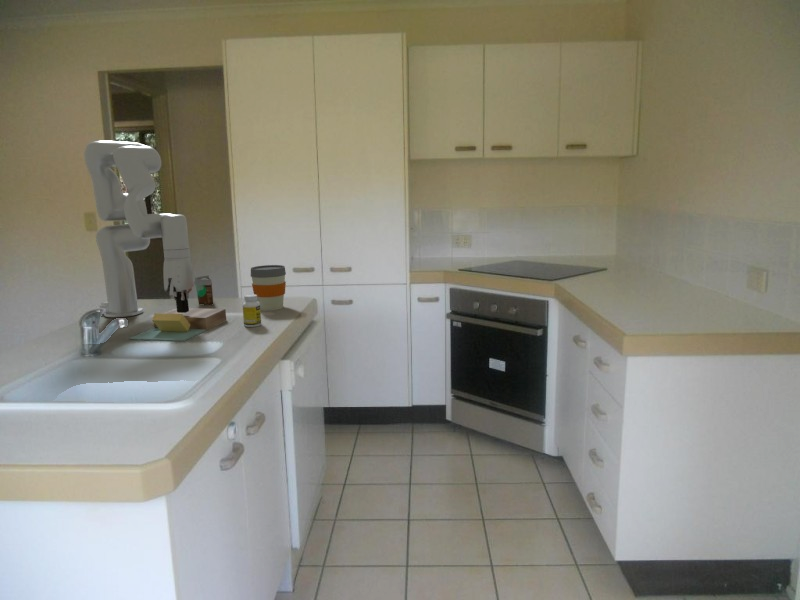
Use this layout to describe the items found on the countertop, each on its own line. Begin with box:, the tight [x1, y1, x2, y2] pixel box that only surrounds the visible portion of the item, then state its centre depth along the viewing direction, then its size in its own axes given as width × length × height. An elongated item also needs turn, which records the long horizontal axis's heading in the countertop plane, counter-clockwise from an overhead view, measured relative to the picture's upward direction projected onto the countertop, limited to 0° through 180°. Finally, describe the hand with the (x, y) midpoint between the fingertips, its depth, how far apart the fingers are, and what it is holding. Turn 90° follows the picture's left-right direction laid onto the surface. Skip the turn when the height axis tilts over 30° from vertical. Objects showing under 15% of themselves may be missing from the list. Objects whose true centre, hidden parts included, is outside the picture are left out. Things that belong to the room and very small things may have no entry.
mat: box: [128, 327, 207, 342], centre depth 171 cm, size 18×12×1 cm, turn 80°
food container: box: [194, 275, 214, 306], centre depth 217 cm, size 12×6×10 cm, turn 23°
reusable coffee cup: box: [250, 264, 287, 311], centre depth 205 cm, size 13×12×15 cm
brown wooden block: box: [153, 307, 227, 331], centre depth 183 cm, size 18×13×4 cm
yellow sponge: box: [151, 312, 190, 332], centre depth 172 cm, size 9×6×2 cm
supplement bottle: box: [242, 293, 262, 328], centre depth 180 cm, size 5×5×10 cm
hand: (183, 311), depth 179 cm, fingers closed
